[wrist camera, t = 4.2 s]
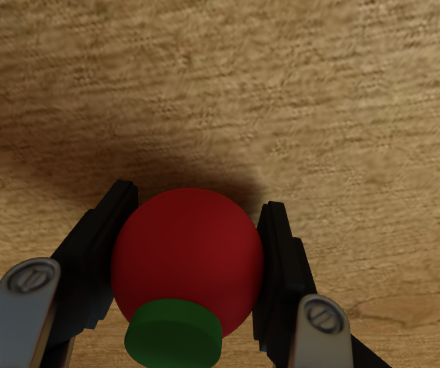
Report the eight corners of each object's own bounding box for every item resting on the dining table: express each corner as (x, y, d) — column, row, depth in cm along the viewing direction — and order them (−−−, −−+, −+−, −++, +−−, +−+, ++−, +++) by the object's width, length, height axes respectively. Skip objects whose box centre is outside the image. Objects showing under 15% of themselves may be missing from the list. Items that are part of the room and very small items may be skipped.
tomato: (118, 222, 12) (40, 352, 7) (182, 136, 10) (130, 241, 5) (211, 275, 13) (196, 414, 8) (285, 210, 11) (320, 348, 6)
